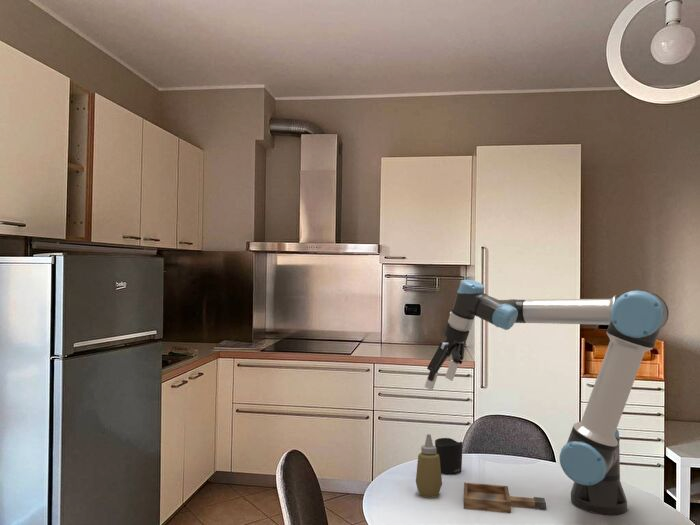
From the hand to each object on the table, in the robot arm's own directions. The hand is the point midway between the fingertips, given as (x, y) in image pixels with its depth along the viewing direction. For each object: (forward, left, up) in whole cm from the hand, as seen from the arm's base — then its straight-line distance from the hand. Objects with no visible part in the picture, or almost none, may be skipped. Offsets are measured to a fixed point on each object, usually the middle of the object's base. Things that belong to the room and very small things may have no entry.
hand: (438, 383), depth 180 cm
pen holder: (-3, -10, -32) cm, 33 cm away
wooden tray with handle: (-20, +16, -31) cm, 40 cm away
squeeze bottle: (+2, +14, -32) cm, 35 cm away
